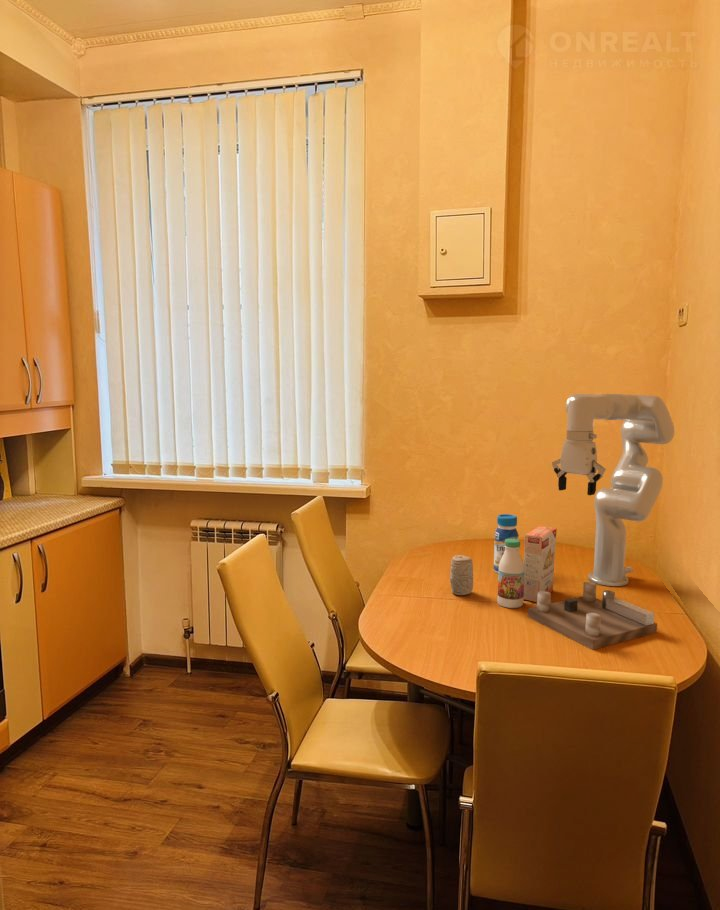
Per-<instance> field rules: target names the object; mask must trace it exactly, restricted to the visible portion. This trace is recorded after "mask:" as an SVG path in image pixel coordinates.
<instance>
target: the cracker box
mask: <svg viewBox="0 0 720 910" xmlns="http://www.w3.org/2000/svg"><path fill="white" fill-rule="evenodd" d="M557 532H558V531H557V528H556V527H551V526H543V525H539V526H537V527H536V528H535V529H532V530H531V531H529V532H527V533H526V534H524V551H523V552H524V554H523V563H524V598H523V601H524V600H525V601H530V602H534V603H537V595H538V592H540V591H545V592H549V593H550V594H551V592H552V591H554V578H555V577H554V575H555V574H554V573H555V559H556V546H557V545H556V544H557V543H556V542H557Z"/></svg>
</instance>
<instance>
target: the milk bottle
mask: <svg viewBox="0 0 720 910" xmlns="http://www.w3.org/2000/svg"><path fill="white" fill-rule="evenodd" d="M504 547H505V552H504V554H503V556H502V558H501V560H500V563H499V571H498V573H497V574H498V575H497V596H496V597H497V601H496V602H497V604H498V605H499V606H500V607H503V608H509V609H518V608H521V607H522V606H523V605H524V599H523V598H524V560H523V559H522V556H521V554H520V553H521V552H520V549H521V540H519V539H518V540H517V539H506V540H505V546H504Z"/></svg>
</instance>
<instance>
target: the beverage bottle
mask: <svg viewBox="0 0 720 910" xmlns="http://www.w3.org/2000/svg"><path fill="white" fill-rule="evenodd" d="M496 520H497V521H496V523H497V526H498V527H497V528H496V530H495V532H494V536H495V537H494V540H493V547H494V548H493V549H494V550H493V571H494V572H495V573H496V574H498V571H499V563H500V560H501V558H502V556H503V554H504V552H505V547H504V546H505V540H506V539H517V540H519V538H520V537H519V532H518V530H517V528H516V527H517V525H518V517H517V516H516V515H514V514H508V513H504V514H503V513H501V514H498V515H497V519H496Z"/></svg>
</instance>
